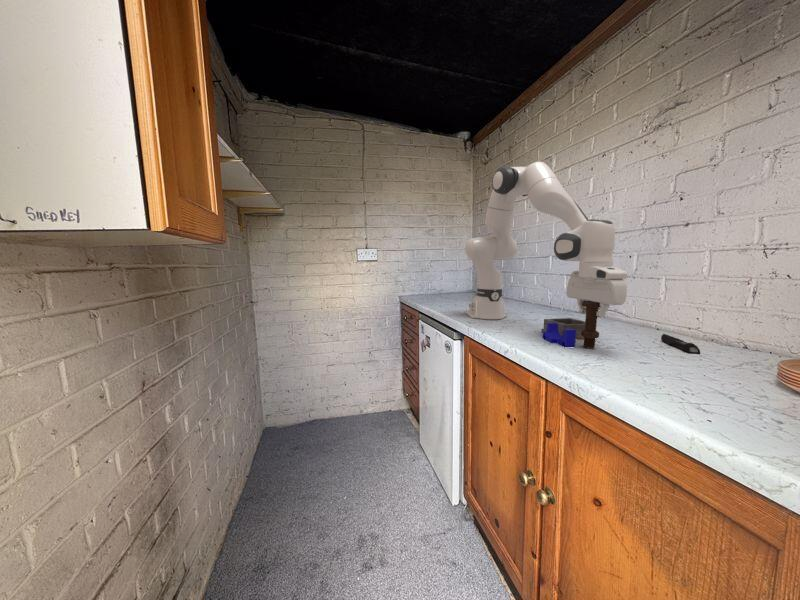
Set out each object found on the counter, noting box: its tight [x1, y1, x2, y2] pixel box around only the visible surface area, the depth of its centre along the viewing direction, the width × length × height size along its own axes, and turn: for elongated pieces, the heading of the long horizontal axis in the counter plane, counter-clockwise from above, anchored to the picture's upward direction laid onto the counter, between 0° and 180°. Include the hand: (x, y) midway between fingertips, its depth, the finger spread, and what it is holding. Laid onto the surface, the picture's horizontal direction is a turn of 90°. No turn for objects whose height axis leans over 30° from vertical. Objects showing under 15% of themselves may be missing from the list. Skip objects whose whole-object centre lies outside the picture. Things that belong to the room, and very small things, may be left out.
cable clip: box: [541, 323, 576, 348], centre depth 104 cm, size 12×4×6 cm, turn 3°
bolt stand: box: [541, 317, 585, 340], centre depth 115 cm, size 13×13×5 cm
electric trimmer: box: [660, 333, 701, 355], centre depth 99 cm, size 4×16×3 cm, turn 166°
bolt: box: [581, 300, 601, 349], centre depth 98 cm, size 6×5×15 cm
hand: (591, 315), depth 98 cm, fingers open, 6 cm apart
